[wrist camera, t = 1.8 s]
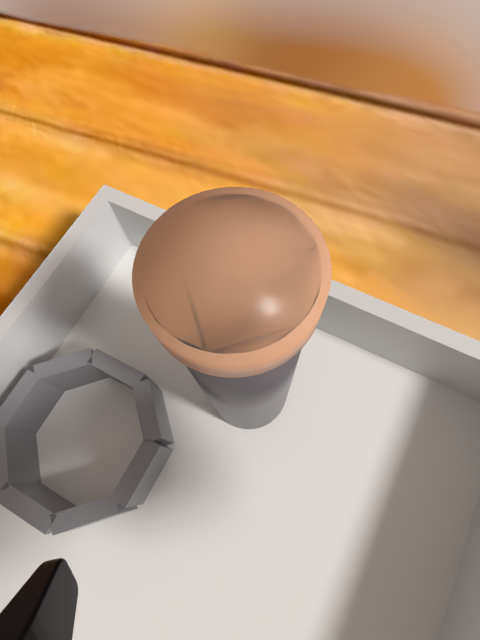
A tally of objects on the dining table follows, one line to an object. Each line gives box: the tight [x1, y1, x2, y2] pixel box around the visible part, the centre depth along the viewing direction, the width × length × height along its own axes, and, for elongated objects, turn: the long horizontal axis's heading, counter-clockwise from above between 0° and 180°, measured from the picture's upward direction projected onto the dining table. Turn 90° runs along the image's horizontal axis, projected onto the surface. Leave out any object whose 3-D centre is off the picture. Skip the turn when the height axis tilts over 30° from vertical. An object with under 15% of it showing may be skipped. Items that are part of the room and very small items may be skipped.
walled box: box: [0, 185, 480, 640], centre depth 17 cm, size 24×24×5 cm
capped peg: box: [132, 187, 332, 429], centre depth 15 cm, size 4×4×13 cm
